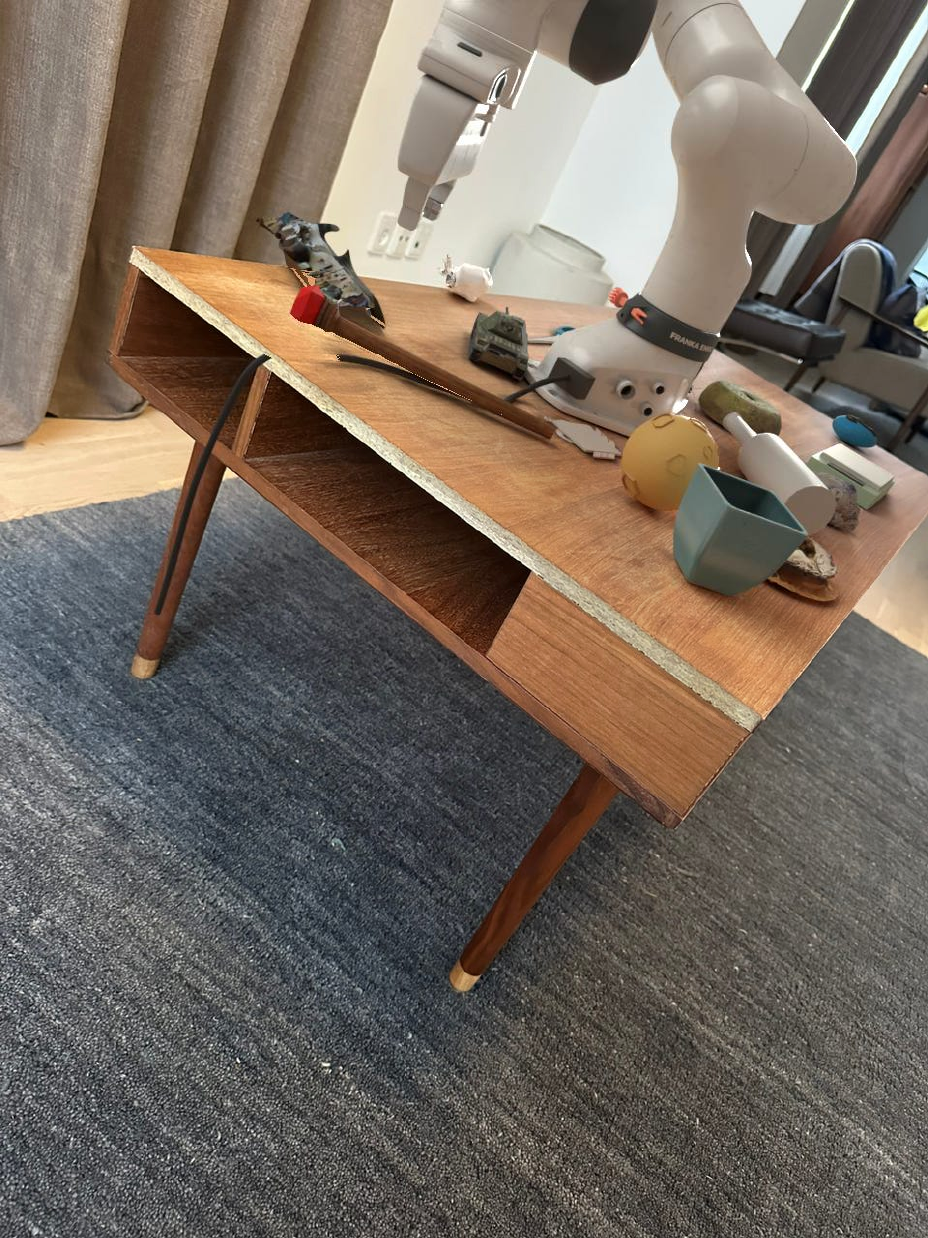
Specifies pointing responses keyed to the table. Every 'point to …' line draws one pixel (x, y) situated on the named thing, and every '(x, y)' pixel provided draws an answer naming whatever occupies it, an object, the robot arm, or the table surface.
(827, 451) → the pale green slotted box
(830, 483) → the mineral specimen
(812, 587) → the cake on gold board
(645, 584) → the table surface
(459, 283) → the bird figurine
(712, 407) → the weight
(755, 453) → the bottle
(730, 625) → the table surface
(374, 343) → the decorative stake
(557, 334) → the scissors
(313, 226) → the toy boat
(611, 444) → the decorative emblem
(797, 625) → the table surface
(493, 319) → the toy tank
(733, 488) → the flower pot
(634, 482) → the stress ball
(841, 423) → the ornament
